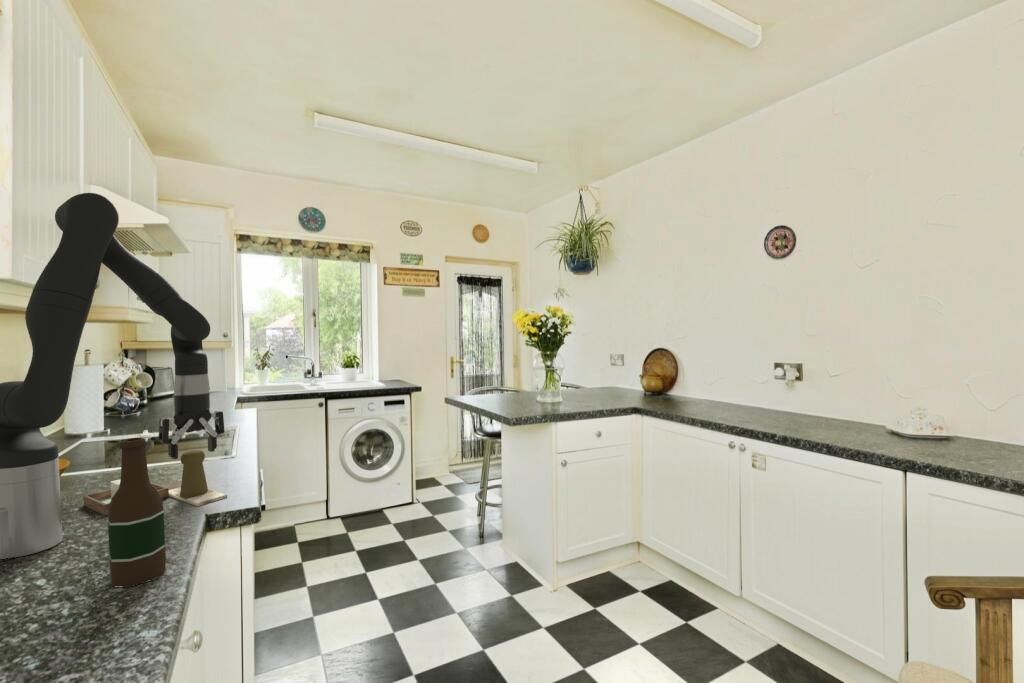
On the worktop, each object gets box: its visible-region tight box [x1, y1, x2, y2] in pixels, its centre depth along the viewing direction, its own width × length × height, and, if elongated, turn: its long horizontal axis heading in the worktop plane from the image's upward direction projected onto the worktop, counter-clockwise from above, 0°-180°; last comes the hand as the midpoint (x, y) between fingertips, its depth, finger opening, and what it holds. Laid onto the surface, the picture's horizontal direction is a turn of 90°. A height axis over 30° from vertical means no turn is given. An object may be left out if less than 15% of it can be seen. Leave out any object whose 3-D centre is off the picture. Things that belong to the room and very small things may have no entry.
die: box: [110, 478, 121, 499], centre depth 117 cm, size 5×5×5 cm
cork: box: [180, 449, 209, 497], centre depth 120 cm, size 6×6×11 cm
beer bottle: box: [107, 437, 167, 588], centre depth 80 cm, size 8×8×24 cm
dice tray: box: [82, 481, 170, 516], centre depth 117 cm, size 13×13×2 cm
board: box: [162, 480, 228, 507], centre depth 122 cm, size 7×24×1 cm, turn 59°
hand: (193, 454), depth 119 cm, fingers open, 8 cm apart
